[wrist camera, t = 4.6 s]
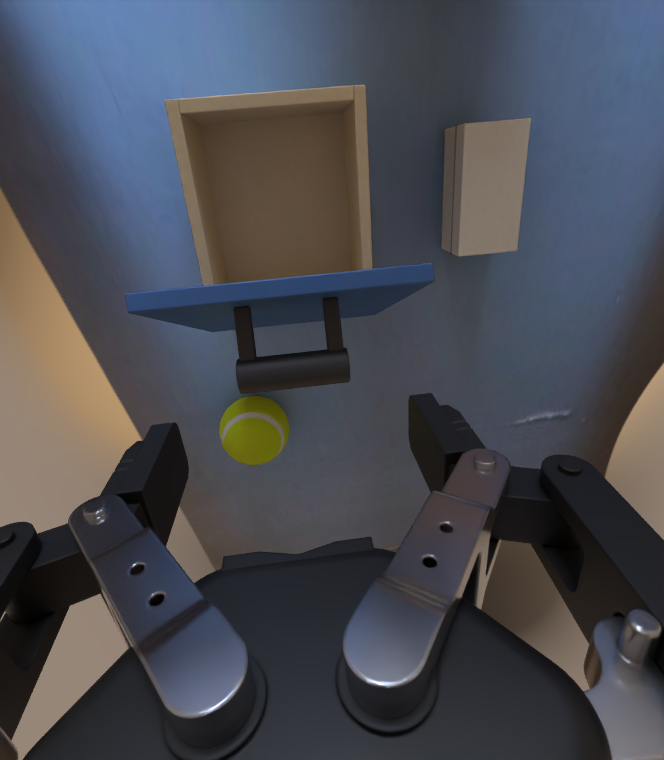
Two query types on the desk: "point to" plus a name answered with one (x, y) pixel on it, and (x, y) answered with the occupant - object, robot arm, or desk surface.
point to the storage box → (275, 182)
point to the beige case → (483, 186)
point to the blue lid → (285, 317)
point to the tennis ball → (254, 430)
